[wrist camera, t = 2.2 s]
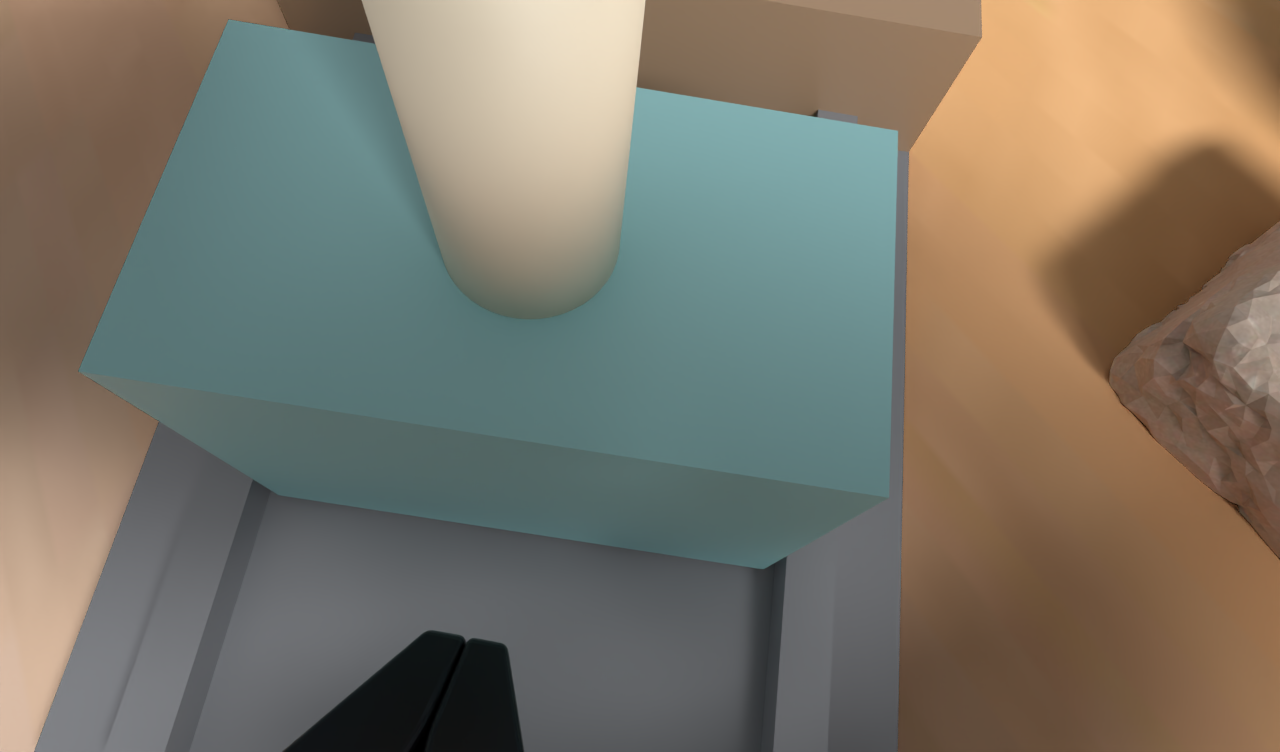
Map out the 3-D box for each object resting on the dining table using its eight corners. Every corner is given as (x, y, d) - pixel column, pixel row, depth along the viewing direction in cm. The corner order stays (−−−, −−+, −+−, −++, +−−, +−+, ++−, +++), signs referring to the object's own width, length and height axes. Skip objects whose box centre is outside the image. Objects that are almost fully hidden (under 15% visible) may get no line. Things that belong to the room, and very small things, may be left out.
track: (871, 915, 16) (1005, 1023, 11) (53, 798, 15) (-189, 854, 10) (893, 131, 22) (980, -19, 18) (329, 38, 22) (261, -142, 17)
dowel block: (763, 569, 16) (1173, 335, 5) (279, 495, 16) (-393, 81, 5) (783, 325, 18) (1108, -224, 7) (353, 256, 18) (-4, -422, 7)
